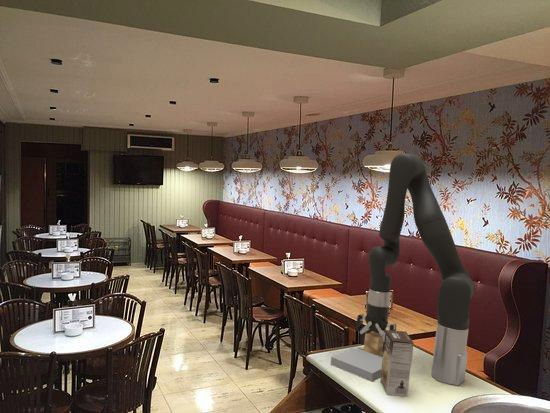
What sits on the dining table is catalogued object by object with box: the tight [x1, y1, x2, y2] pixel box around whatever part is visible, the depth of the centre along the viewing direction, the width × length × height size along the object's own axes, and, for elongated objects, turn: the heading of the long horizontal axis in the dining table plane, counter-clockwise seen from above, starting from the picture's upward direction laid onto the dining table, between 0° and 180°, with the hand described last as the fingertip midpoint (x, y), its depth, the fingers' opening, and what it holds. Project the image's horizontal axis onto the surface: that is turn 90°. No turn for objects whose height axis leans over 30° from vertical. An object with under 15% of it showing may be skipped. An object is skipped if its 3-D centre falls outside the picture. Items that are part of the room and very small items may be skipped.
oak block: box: [363, 331, 384, 357], centre depth 156 cm, size 5×5×7 cm
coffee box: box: [379, 329, 415, 397], centre depth 130 cm, size 9×6×16 cm
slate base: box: [330, 346, 383, 382], centre depth 145 cm, size 15×14×2 cm
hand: (373, 348), depth 156 cm, fingers open, 8 cm apart
